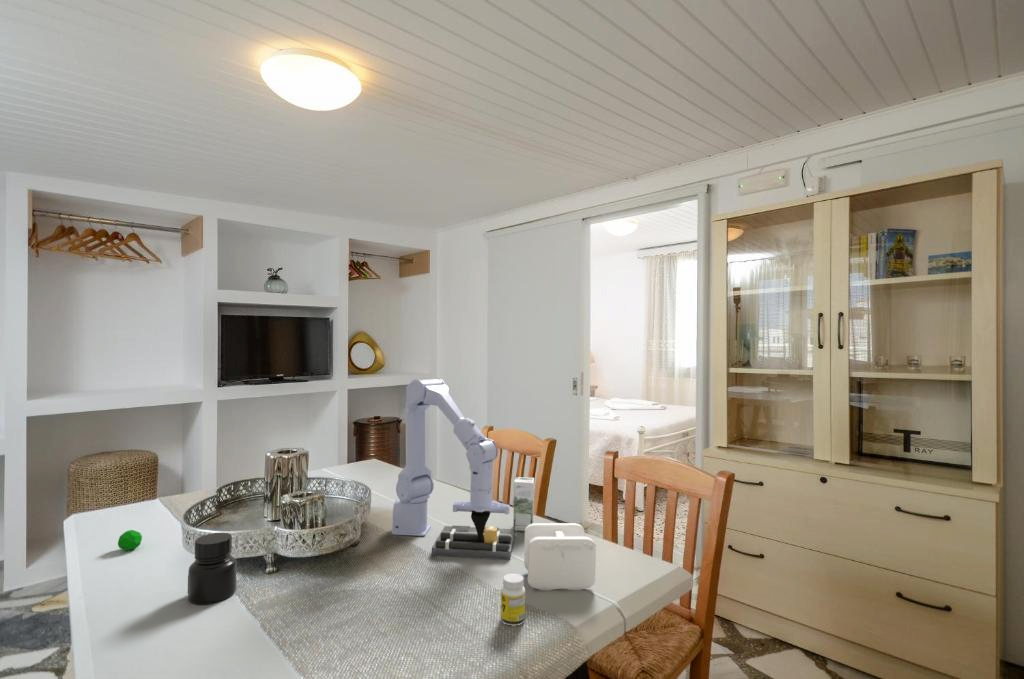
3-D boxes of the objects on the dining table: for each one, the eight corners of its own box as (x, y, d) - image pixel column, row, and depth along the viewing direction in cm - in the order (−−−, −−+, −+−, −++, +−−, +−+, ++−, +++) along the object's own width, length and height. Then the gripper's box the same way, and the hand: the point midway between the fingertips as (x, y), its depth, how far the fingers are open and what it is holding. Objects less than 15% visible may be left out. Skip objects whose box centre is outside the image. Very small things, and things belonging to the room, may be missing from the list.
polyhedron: (113, 551, 132) (114, 532, 133) (135, 544, 137) (135, 526, 137) (124, 555, 130) (124, 536, 130) (145, 548, 134) (146, 529, 134)
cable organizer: (586, 571, 125) (587, 522, 125) (595, 592, 115) (596, 539, 115) (523, 571, 124) (524, 522, 124) (527, 593, 114) (528, 539, 114)
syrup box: (533, 525, 156) (534, 476, 156) (532, 532, 150) (533, 482, 150) (514, 524, 156) (515, 476, 157) (512, 531, 151) (513, 481, 151)
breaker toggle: (484, 546, 134) (484, 529, 134) (485, 541, 136) (486, 525, 137) (495, 546, 133) (496, 530, 133) (497, 542, 136) (497, 526, 136)
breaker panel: (431, 555, 133) (431, 544, 133) (444, 533, 149) (445, 523, 149) (510, 559, 131) (510, 548, 131) (515, 536, 147) (515, 526, 147)
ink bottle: (227, 581, 117) (228, 527, 117) (245, 593, 112) (246, 537, 112) (178, 596, 110) (180, 539, 110) (195, 611, 104) (196, 550, 104)
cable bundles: (435, 548, 132) (435, 541, 132) (443, 535, 142) (443, 528, 142) (509, 552, 130) (509, 545, 130) (512, 538, 140) (512, 531, 140)
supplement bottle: (500, 614, 104) (500, 572, 105) (523, 614, 105) (524, 571, 105) (501, 627, 100) (502, 583, 100) (526, 627, 100) (526, 582, 100)
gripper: (450, 490, 132) (449, 544, 132) (508, 493, 131) (507, 547, 130) (456, 483, 139) (455, 534, 139) (510, 485, 138) (509, 537, 138)
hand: (480, 540), depth 135 cm, fingers closed
